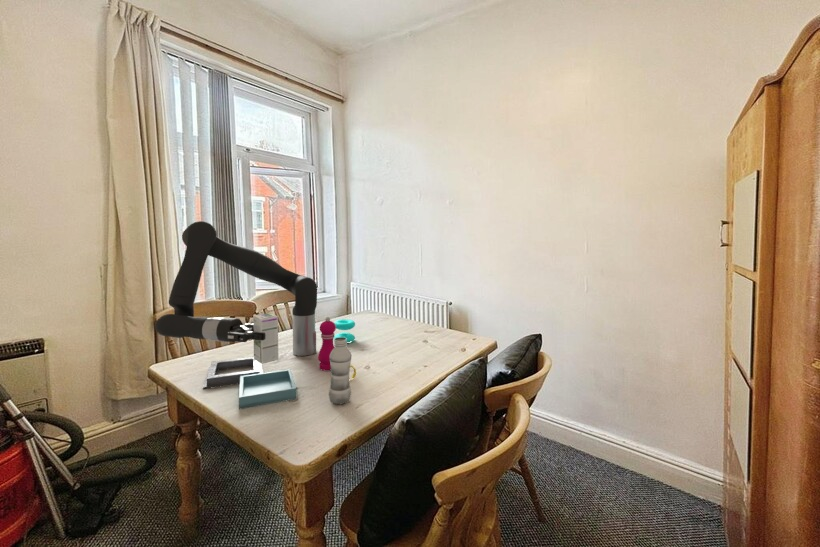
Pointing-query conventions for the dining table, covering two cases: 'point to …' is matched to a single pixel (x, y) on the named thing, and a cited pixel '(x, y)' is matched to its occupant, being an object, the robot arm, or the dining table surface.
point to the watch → (354, 371)
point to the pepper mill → (326, 343)
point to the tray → (266, 388)
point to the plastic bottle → (340, 372)
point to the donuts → (345, 325)
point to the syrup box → (266, 337)
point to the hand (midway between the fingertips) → (271, 332)
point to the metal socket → (230, 378)
